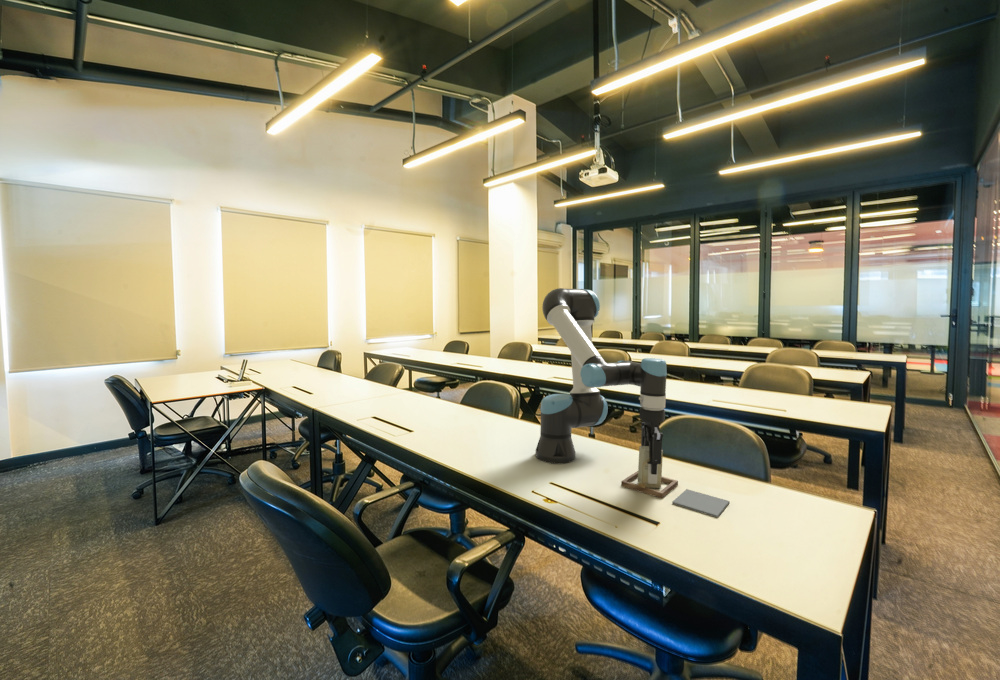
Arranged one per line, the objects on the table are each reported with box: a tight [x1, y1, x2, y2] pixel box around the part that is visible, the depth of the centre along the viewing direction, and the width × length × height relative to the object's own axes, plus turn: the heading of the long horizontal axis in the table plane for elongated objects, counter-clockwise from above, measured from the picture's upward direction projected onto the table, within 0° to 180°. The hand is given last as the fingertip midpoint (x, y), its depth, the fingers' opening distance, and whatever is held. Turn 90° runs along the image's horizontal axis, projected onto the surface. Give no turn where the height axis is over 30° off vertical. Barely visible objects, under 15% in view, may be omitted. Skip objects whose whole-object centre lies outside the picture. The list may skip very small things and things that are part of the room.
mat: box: [671, 488, 730, 518], centre depth 121 cm, size 12×12×1 cm
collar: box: [620, 470, 679, 499], centre depth 133 cm, size 13×13×2 cm
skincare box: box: [637, 445, 664, 489], centre depth 133 cm, size 6×4×12 cm
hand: (649, 479), depth 133 cm, fingers closed on skincare box, 4 cm apart
